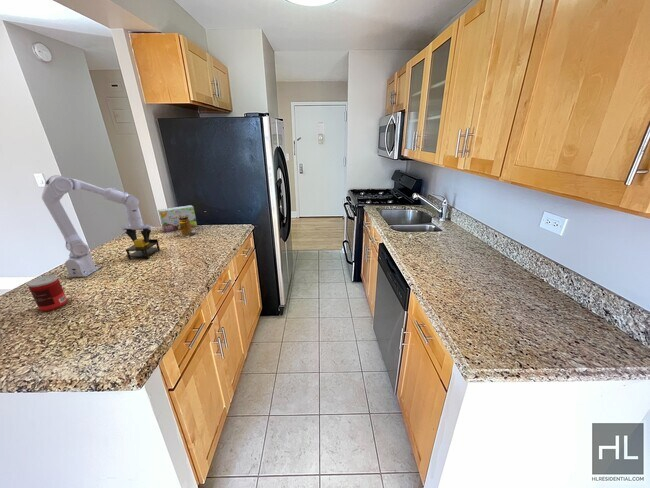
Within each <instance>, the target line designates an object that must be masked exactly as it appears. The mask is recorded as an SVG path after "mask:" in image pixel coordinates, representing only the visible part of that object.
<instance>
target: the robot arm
mask: <svg viewBox="0 0 650 488" xmlns="http://www.w3.org/2000/svg"><path fill="white" fill-rule="evenodd" d="M72 190H74V191H79V190H84V191H87V192H90V193H93V194H97V195H100V196H102V197H103V198H104V199H105V200H107V201H110V202H111V201H112V202H114V203H117V204H121V205H123V206H124V209H125V214H126V217H127V221H128V223H129V225H123V226H121V230H122V231H125V235H127V236H128V237H129V238H130V239H131V241H132V242H133V241H135V240H136V239H138V237H137V231H140V234H141V235H142V237H144V240H145V243H148V242H149V239H150V234H151V231H152V230H154V228H153V225H150V224H144V221H143V218H142V214H141V211H140V207H139V204H140V200H139V199H138V198H137V196H135V195H133V194H130V193H128V192H126V191H124V192H123V191H120V190H118V189H117V188H115V187H107V188H103V187H100V186H97V185H94V184H91V183H89V182H85V181H83V180H80V179H76V178H71V177H66V176H62V175H59V174H55V175H52V176H50V177H49V178H47V180H45V182H44V187H43V191H42V194H41V200H42V202H43V203H44V205H45V207H46V208H47V211H48V212H49V214H50V215H51V217H52V219H53V221H54V222H55V224H56V226H57V227H58V229H59V231H60V233H61V234H62V236H63V239H64V242H65V248H66V250H67V251H69V255H68V256H69V258H68V259H67V260H65V263H64V266H65V268H66V271H67V273H68V275H67V278H85V277H88V276H90V275H91V274H94V272H96V271H97V270H100V269H101V268H102V266H96V264H95V262H94V259H93V257H92V254H91V251H90V247H89V246H88V244H86V243H85V242H84V240H82V238H81V237H80V235H79V234H78V232H77V230H76V228H75V226H74V224H73V223H72V221H71V219H70V217H69V215H68V213H67V211H66V210H65V208H64V206H63V204H62V202H61V199H62V198H64V196H65V195H66V194H67V193H69V192H71V191H72Z"/></svg>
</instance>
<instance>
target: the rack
mask: <svg viewBox="0 0 650 488" xmlns="http://www.w3.org/2000/svg"><path fill="white" fill-rule="evenodd" d="M155 245H156V247H154V246H155ZM125 252H126V255H127V258H128V260H131V259H132V258H146V260H149V259H150V258H149V257H150V256H151V255H152V254H153V253H155V252H161V247H160V245H159V240H158V238H149V244H147V245H145V246H144V247H135V245H134V244H133V245H131V246H129V247H128V248H125ZM130 252H132V253H131V254H130Z"/></svg>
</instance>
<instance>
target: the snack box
mask: <svg viewBox="0 0 650 488" xmlns="http://www.w3.org/2000/svg"><path fill="white" fill-rule="evenodd" d="M157 212H158V216H159V221H160V225H161V230H162V231H163V232H164V233H168V232H173V231H178V230H179V231H180V230H181V228H180V223H179V222H180V221H179V218H180V217H184V216H187V217H188V219H189V221H190V225H191V228H194V227H198V224H197V218H196V212H195V207H194V205H192V204H191V205H184V206H176V207H169V208H161V209H160V208H159V209H157Z"/></svg>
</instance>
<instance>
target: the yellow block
mask: <svg viewBox="0 0 650 488" xmlns="http://www.w3.org/2000/svg"><path fill="white" fill-rule="evenodd" d="M132 243H133V245H135V247H144V246H145V245H147V244H149V242H148V243H145V240H144V237H143V236H140V237H137V239H136V240H135V241H132Z"/></svg>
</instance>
